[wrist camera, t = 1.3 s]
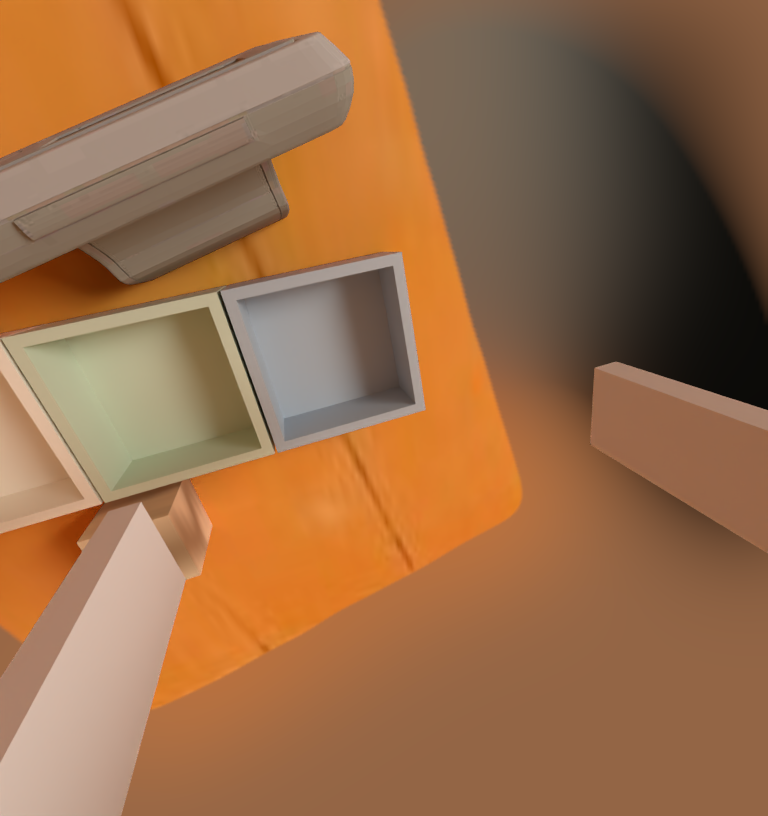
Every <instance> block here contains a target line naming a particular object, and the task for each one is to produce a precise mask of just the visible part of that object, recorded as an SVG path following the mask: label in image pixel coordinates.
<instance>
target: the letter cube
mask: <svg viewBox="0 0 768 816" xmlns="http://www.w3.org/2000/svg"><path fill="white" fill-rule="evenodd" d="M138 502H142V504H143V506H144V508H145V509H146V511H147V513H148V514H149V516H150V518H151V520H152V521H153V523H154V525H155V527H156V528H157V530H158V532H159V533H160V535H161V537H162V539H163V540H164V542H165V544H166V546H167V547H168V549H169V551H170V552H171V554H172V556H173V558H174V559H175V561H176V563H177V565H178V566H179V568H180V570H181V571H182V573H183V575H184V577H185V578H186V580H187V579H190V578H193V577H196V576H199V575H201V572H202V567H203V563H204V559H205V555H206V550H207V546H208V542H209V538H210V533H211V529H212V523H211V521H210V519H209V517H208V515H207V513H206V511H205V509H204V507H203V505H202V503H201V501H200V499H199V497H198V495H197V493H196V491H195V489H194V487H193V485H192V483H191V481H190V479H186V480H183V481H179V482H176V483H172V484H169V485H165V486H162V487H159V488H155V489H152V490H148V491H145V492H141V493H138V494H135V495H131V496H128V497H124V498H121V499H117V500H114V501H110V502H107V503H105V502H104V504H103V505H102V507H101V508H100V509H99V511H98V512H97V514H96V515H95V517H94V518H93V520H92V521H91V523H90V524H89V525H88V527H87V528H86V530H85V531H84V533H83V534H82V536H81V537H80V539H79V540H78V541H77V545H78V546H79V547H80V549H81V550H82V551H83V550H84V548H85V546H86V545H87V543H88V542H89V540H90V539H91V537H92V536H93V534H94V533H95V531H96V529H97V528H98V526H99V525H100V523H101V522H102V520H103V519H104V517H105V516H106V514H107V512H108V511H111V510H115V509H118V508H121V507H125V506H128V505H132V504H135V503H138Z"/></svg>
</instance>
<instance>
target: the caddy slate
mask: <svg viewBox="0 0 768 816" xmlns="http://www.w3.org/2000/svg"><path fill="white" fill-rule="evenodd" d="M220 292H221V295H222V298H223V301H224V303H225V306H226V309H227V312H228V315H229V317H230V320H231V323H232V326H233V328H234V331H235V334H236V337H237V340H238V342H239V345H240V348H241V351H242V354H243V356H244V359H245V362H246V365H247V368H248V370H249V373H250V376H251V379H252V382H253V384H254V387H255V390H256V393H257V396H258V398H259V401H260V404H261V407H262V409H263V412H264V415H265V418H266V421H267V423H268V426H269V429H270V432H271V435H272V437H273V440H274V443H275V446H276V449H277V451H278V453H279V452H282V451H286V450H289V449H293V448H296V447H299V446H303V445H306V444H310V443H313V442H317V441H320V440H324V439H327V438H330V437H334V436H337V435H341V434H344V433H348V432H351V431H354V430H358V429H361V428H365V427H368V426H372V425H375V424H379V423H382V422H385V421H389V420H392V419H396V418H399V417H403V416H406V415H409V414H413V413H416V412H420V411H423V410H426V409H425V403H424V396H423V390H422V383H421V376H420V370H419V363H418V357H417V350H416V343H415V337H414V330H413V324H412V317H411V310H410V304H409V297H408V291H407V284H406V278H405V271H404V264H403V258H402V252H380V253H375V254H371V255H366V256H361V257H357V258H352V259H347V260H343V261H338V262H333V263H329V264H324V265H319V266H315V267H310V268H305V269H300V270H296V271H291V272H286V273H282V274H277V275H272V276H268V277H263V278H258V279H254V280H249V281H244V282H240V283H235V284H230V285H228V286H227V287H225V288H224V289H222V290H221V291H220Z"/></svg>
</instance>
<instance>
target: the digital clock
mask: <svg viewBox="0 0 768 816" xmlns="http://www.w3.org/2000/svg"><path fill="white" fill-rule="evenodd" d="M353 92H354V78H353V72H352V67H351V65H350V60H349V59H348V58H347V57H346V56H345V55H344V54H343V53H342V52H341V51H340V50H339V49H338V48H337V47H336V46H335V45H334V44H333V43H331V42H330V41H329V40H328V39H327V38H326V37H324V36H323V35H322V34H321V33H320V32H314V33H309V34H305V35H301V36H296V37H292V38H288V39H283V40H279V41H275V42H272V43H269V44H266V45H262V46H257V47H254V48H252V49H250V50H247V51H245V52H243V53H240V54H238V55H236V56H234V57H231V58H229V59H227V60H224V61H222V62H220V63H218V64H215V65H213V66H211V67H208V68H206V69H204V70H201V71H199V72H197V73H195V74H192V75H190V76H188V77H185V78H183V79H181V80H179V81H176V82H174V83H172V84H169V85H167V86H165V87H162V88H160V89H158V90H156V91H153V92H151V93H149V94H146V95H144V96H142V97H140V98H137V99H135V100H133V101H130V102H128V103H126V104H124V105H121V106H119V107H117V108H114V109H112V110H110V111H107V112H105V113H103V114H101V115H98V116H96V117H94V118H91V119H89V120H87V121H85V122H82V123H80V124H78V125H75V126H73V127H71V128H69V129H66V130H64V131H62V132H59V133H57V134H55V135H52V136H50V137H48V138H46V139H43V140H41V141H39V142H36V143H34V144H32V145H30V146H27V147H25V148H23V149H20V150H18V151H16V152H13V153H11V154H9V155H7V156H4V157H2V158H0V283H2V282H4V281H6V280H8V279H10V278H13V277H15V276H17V275H19V274H21V273H24V272H26V271H28V270H30V269H33V268H35V267H37V266H39V265H41V264H44V263H46V262H48V261H50V260H52V259H54V258H57V257H59V256H61V255H63V254H65V253H68V252H70V251H72V250H74V249H76V248H79V249H80V250H82V251H84V252H85V253H87V254H88V255H90V256H91V257H93V258H94V259H96V260H97V261H99V262H100V263H101V264H102V265H104V266H105V267H106V268H107V269H108V270H109V271H110V272H111V273H112V274H113V275H114V276H115V277H116V278H117V279H118V280H119V281H121V282H122V283H124V284H130V285H131V284H137V283H142V282H146V281H151V280H154V279H156V278H158V277H160V276H162V275H164V274H166V273H168V272H170V271H173V270H175V269H177V268H179V267H181V266H183V265H185V264H187V263H190V262H192V261H194V260H196V259H198V258H200V257H202V256H204V255H207V254H209V253H211V252H213V251H215V250H217V249H219V248H221V247H224V246H226V245H228V244H230V243H232V242H234V241H236V240H238V239H240V238H243V237H245V236H247V235H249V234H251V233H253V232H255V231H257V230H260V229H262V228H264V227H266V226H268V225H270V224H272V223H274V222H277V221H279V220H280V219H283V218H285V217H287V215H288V213H289V205H288V202H287V199H286V197H285V195H284V192H283V190H282V188H281V185H280V183H279V180H278V178H277V175H276V172H275V170H274V167H273V164H272V162H271V159H272V158H274V157H277V156H279V155H281V154H283V153H285V152H287V151H290V150H292V149H294V148H296V147H298V146H300V145H303V144H305V143H307V142H309V141H311V140H313V139H315V138H317V137H320V136H322V135H324V134H326V133H328V132H330V131H332V130H334V129H336V128H338V127H339V126H341V125H342V124H343V122H344V121H345V119H346V117H347V114H348V112H349V109H350V105H351V101H352V97H353Z"/></svg>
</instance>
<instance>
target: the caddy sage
mask: <svg viewBox="0 0 768 816" xmlns="http://www.w3.org/2000/svg"><path fill="white" fill-rule="evenodd" d="M225 287H226V286H221V287H216V288H212V289H207V290H202V291H198V292H193V293H188V294H184V295H179V296H174V297H169V298H165V299H160V300H155V301H151V302H146V303H141V304H137V305H132V306H127V307H123V308H118V309H113V310H109V311H104V312H99V313H95V314H90V315H85V316H81V317H76V318H71V319H67V320H62V321H57V322H53V323H48V324H45V325H42V326H39V327H36V328H32V329H29V330H26V331H23V332H20V333H17V334H13V335H10V336H7V337H4V338H1V339H2V341H3V342H4V344H5V346H6V347H7V349H8V350H9V352H10V353H11V355H12V357H13V358H14V360H15V361H16V363H17V365H18V366H19V368H20V369H21V371H22V372H23V374H24V376H25V377H26V379H27V380H28V382H29V384H30V385H31V387H32V388H33V390H34V391H35V393H36V395H37V396H38V398H39V399H40V401H41V402H42V404H43V406H44V407H45V409H46V410H47V412H48V414H49V415H50V417H51V418H52V420H53V421H54V423H55V425H56V426H57V428H58V429H59V431H60V433H61V434H62V436H63V437H64V439H65V440H66V442H67V444H68V445H69V447H70V448H71V450H72V452H73V453H74V455H75V456H76V458H77V459H78V461H79V463H80V464H81V466H82V467H83V469H84V471H85V472H86V474H87V475H88V477H89V478H90V480H91V482H92V483H93V485H94V486H95V488H96V490H97V491H98V493H99V494H100V496H101V497H102V499H103V501H104V502H105V503H107V502H110V501H114V500H117V499H121V498H124V497H128V496H131V495H135V494H138V493H141V492H145V491H148V490H152V489H155V488H159V487H162V486H165V485H169V484H172V483H176V482H179V481H183V480H186V479H190V478H193V477H196V476H200V475H203V474H207V473H210V472H214V471H217V470H220V469H224V468H227V467H231V466H234V465H238V464H241V463H244V462H248V461H251V460H255V459H258V458H262V457H265V456H269V455H272V454H275V443H274V440H273V437H272V435H271V432H270V429H269V426H268V423H267V421H266V418H265V415H264V412H263V409H262V407H261V404H260V401H259V398H258V396H257V393H256V390H255V387H254V384H253V382H252V379H251V376H250V373H249V370H248V368H247V365H246V362H245V359H244V356H243V354H242V351H241V348H240V345H239V342H238V340H237V337H236V334H235V331H234V328H233V326H232V323H231V320H230V317H229V315H228V312H227V309H226V306H225V303H224V301H223V298H222V295H221V292H220V291H221V290H222V289H224V288H225Z"/></svg>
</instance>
